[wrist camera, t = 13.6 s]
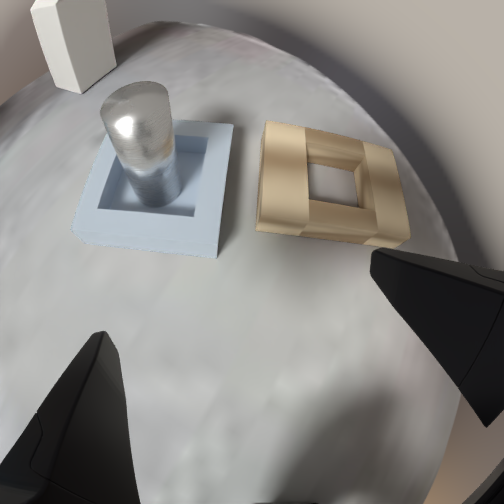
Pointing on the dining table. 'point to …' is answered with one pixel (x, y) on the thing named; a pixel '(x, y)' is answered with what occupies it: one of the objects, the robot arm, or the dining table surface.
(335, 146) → the tan rectangular frame
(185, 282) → the dining table surface
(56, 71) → the milk carton
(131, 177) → the steel axle
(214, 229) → the seat block
